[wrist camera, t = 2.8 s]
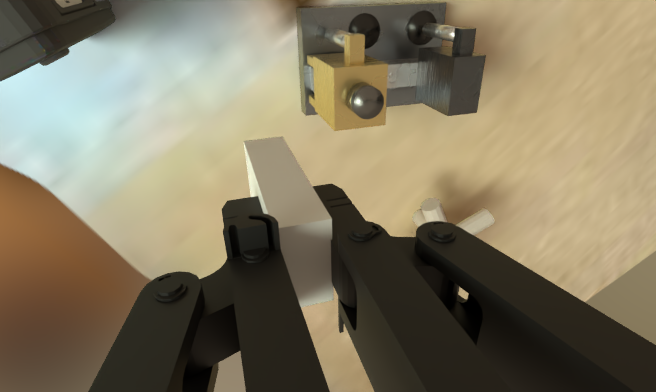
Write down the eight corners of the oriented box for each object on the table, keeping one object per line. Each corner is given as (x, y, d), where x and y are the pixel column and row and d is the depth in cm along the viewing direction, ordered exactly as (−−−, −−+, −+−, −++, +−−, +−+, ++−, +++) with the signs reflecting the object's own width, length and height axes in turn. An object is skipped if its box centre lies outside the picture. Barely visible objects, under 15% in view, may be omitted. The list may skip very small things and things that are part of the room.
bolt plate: (436, 2, 33) (503, 6, 26) (427, 97, 37) (483, 124, 30) (296, 7, 30) (328, 14, 23) (301, 110, 34) (330, 144, 27)
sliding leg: (351, 25, 30) (399, 37, 23) (351, 100, 33) (393, 131, 26) (305, 28, 29) (340, 41, 22) (309, 104, 32) (341, 137, 25)
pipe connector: (363, 206, 41) (408, 264, 32) (447, 157, 41) (514, 202, 32) (395, 269, 46) (441, 333, 37) (469, 225, 46) (532, 279, 38)
